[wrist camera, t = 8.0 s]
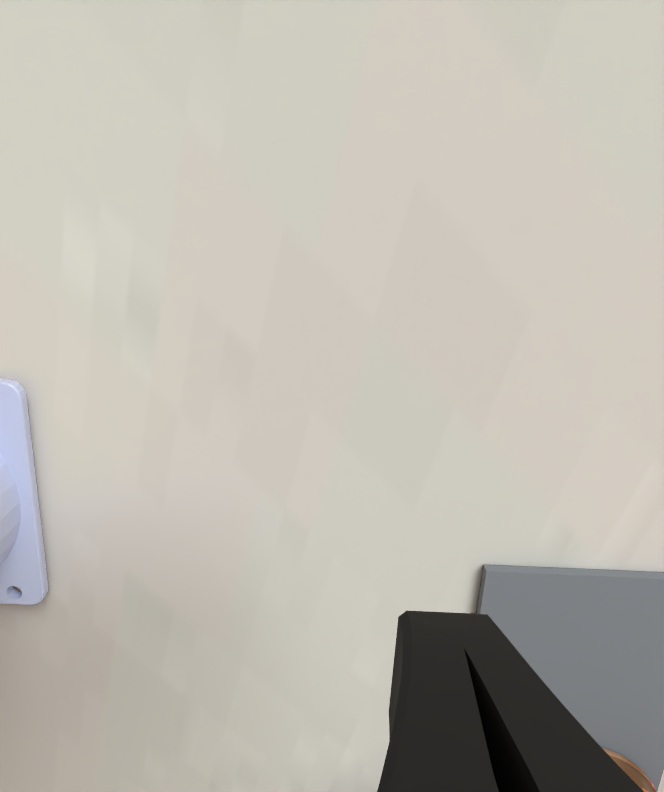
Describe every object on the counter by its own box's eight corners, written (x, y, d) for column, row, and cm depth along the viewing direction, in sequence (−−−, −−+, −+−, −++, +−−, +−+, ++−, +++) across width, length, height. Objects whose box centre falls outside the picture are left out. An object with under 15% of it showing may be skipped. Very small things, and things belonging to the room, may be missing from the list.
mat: (433, 901, 26) (434, 911, 25) (483, 564, 20) (486, 571, 20) (615, 907, 26) (619, 917, 26) (712, 574, 21) (719, 581, 20)
